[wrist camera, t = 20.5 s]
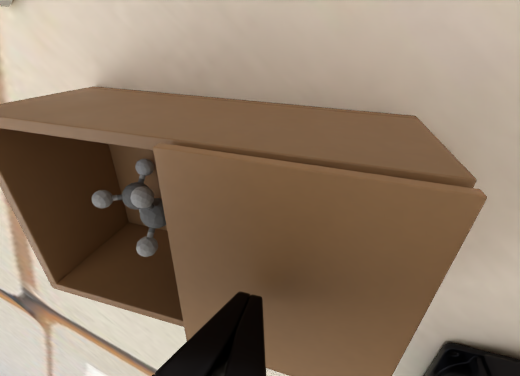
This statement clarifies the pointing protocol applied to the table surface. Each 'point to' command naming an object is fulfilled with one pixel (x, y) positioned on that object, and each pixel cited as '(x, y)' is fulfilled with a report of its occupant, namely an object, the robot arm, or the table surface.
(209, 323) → the robot arm
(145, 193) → the molecular model
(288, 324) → the carton flap
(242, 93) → the table surface
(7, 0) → the hard drive
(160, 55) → the table surface
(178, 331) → the table surface
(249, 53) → the table surface
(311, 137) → the carton
